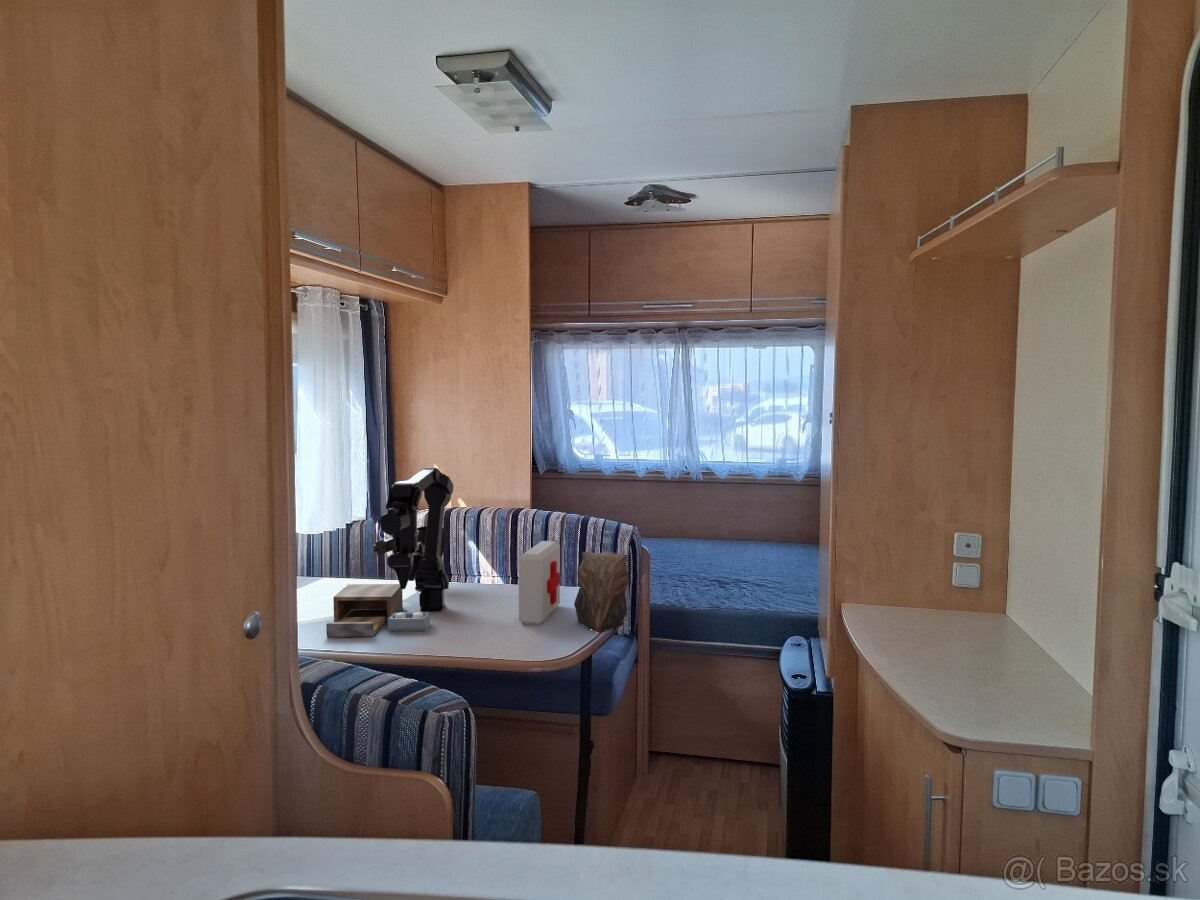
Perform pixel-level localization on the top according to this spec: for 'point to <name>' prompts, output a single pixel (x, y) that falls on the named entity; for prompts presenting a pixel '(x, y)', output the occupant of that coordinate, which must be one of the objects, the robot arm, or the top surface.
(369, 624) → the shelf board
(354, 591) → the open wooden box
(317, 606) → the top surface
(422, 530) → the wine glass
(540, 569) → the bevelled white case
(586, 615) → the owl
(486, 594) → the top surface
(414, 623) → the tray
